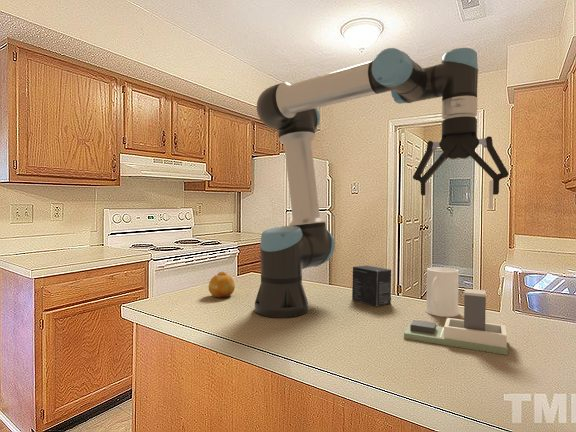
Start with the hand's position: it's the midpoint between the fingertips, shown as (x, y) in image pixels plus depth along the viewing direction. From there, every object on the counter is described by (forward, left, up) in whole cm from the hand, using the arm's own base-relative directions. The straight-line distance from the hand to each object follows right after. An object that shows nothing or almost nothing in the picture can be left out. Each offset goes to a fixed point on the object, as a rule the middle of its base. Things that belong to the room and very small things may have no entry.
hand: (458, 209), depth 88 cm
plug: (+4, -8, -28) cm, 29 cm away
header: (+4, -8, -28) cm, 29 cm away
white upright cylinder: (-5, +12, -29) cm, 32 cm away
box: (-25, +16, -29) cm, 41 cm away
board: (0, -8, -29) cm, 30 cm away
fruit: (-70, 0, -29) cm, 76 cm away
